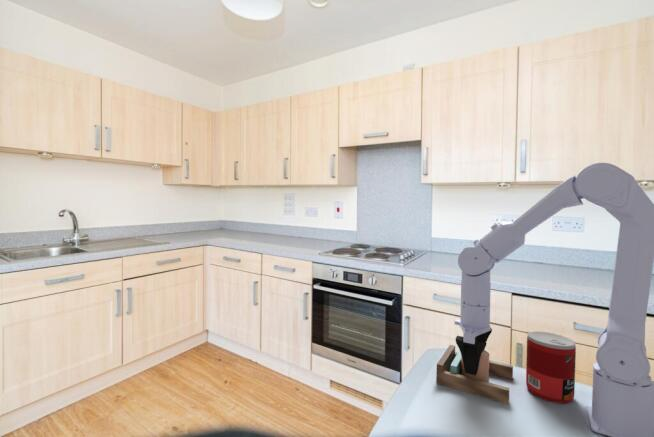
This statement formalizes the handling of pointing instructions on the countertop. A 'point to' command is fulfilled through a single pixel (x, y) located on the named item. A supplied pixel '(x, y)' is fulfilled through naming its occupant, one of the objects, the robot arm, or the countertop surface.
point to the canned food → (551, 366)
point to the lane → (470, 383)
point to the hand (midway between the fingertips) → (473, 366)
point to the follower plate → (456, 364)
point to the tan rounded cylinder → (479, 368)
